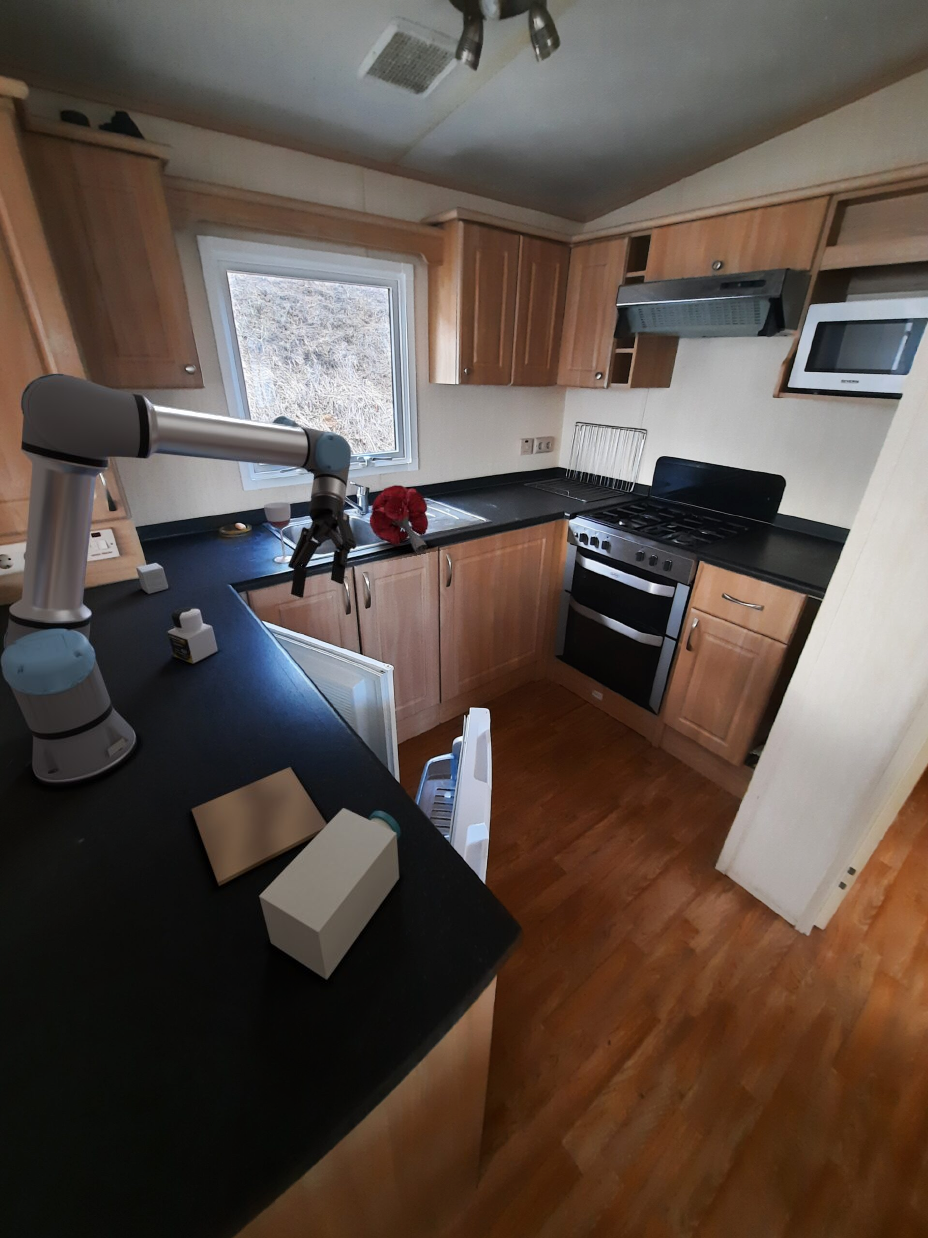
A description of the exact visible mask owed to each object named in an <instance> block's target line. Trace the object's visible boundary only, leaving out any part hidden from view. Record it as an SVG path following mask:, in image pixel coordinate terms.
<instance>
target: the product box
mask: <svg viewBox="0 0 928 1238" xmlns="http://www.w3.org/2000/svg"><path fill="white" fill-rule="evenodd" d="M135 569H136V572H137V577H138V580H139V583H140V586H141V589H142V590H143V591H144V592H145V593H147V594H148V595H150V594H153V593H157V592H160V591H161V592H162V591H164V590H168V589H169V584H168V581H167V577H166V573H165V571H164V567H163V566H161V565H160V564H158V562H154V563H150V564H144V565H140V566H136V567H135Z"/></svg>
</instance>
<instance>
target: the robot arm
mask: <svg viewBox="0 0 928 1238" xmlns="http://www.w3.org/2000/svg"><path fill="white" fill-rule="evenodd" d="M20 409H21V411H22V415H23V418H22V430H21V431H22V432H21V445H20V451H21V452H22V453H23V454H24V455H25V456H26V458H27V459H28V460H29V461H30V462H31V464H32V465H31V476H30V477H31V478H30V491H29V501H28V502H29V503H28V514H27V515H28V517H27V527H26V528H27V530H26V540H25V541H26V542H25V556H24V569H23V579H22V580H23V581H22V590H21V591H22V593H21V599H19V600H17V601H16V602H14V603H13V604H11V606H9V611H8V613H9V614H8V626H7V628H6V633H5V634H4V637H3V648H4V650H3V653H2V654H1V656H0V665H1V672H2V676H3V678H4V680H5V682H6V683H8V685H9V686H10V688H11V691H12V693H13V695H14V698H15V699H16V702H17V704H18V706H19V708H20V710H21V713H22V715H23V718H24V719H25V722H26V724H27V726H28V728H29V730H30V732H31V733H30V734H31V735H32V757H31V759H30V760H29V761H28V762H27V763H26V764H25V767H26V768H30V767H31V766H32V771H33V773H34V775H35V777H36V779H37V781H38V782H40V783H41V784H43V785H45V786H48V787H56V788H57V787H58V788H63V787H72V786H77V785H82V784H86V783H88V782H92V781H94V780H97V779H99V778H101V777H103V776H106V775H107V774H110V773H111V772H113V771H115V770H116V769H118V768H119V767H121V766H123V764H124V763H126V762H127V761H128V760H129V759H130V758H131V757H132V755H133V754H134V753H135V751H136V749H137V746H138V738H137V736H136V732H135V730H134V729H133V727H132V726H131V725H130V724H129V723H128V722H127V721H126V720H125V718H123V717H122V716H121V715H120V713H118V712H117V710H116V709H115V708H114V706H113V704H112V701H111V697H110V695H109V692H108V689H107V687H106V684H105V681H104V679H103V675H102V672H101V671H100V670H101V669H100V667H99V665H98V664H99V663H98V662H97V659H96V657H97V656H96V652H95V649H94V647H93V645H92V644H91V643H90V631H91V622H92V621H91V620H92V611H91V609H90V608H88V607H87V605H85V604H84V603H83V602H84V595H85V594H84V593H85V584H86V575H87V565H88V556H89V546H90V538H91V537H90V536H91V528H92V518H93V511H94V510H93V509H94V499H95V491H96V479H97V476H98V475H99V474H101V473H103V472H105V471H106V470H108V469H109V459H110V458H135V459H144V460H145V459H148V458H149V459H150V457H151V456H152V455H155V454H160V455H170V456H180V457H189V458H191V457H192V458H200V459H211V460H220V461H230V462H231V461H232V462H242V463H250V464H251V463H252V464H262V465H269V466H281V467H290V468H291V467H292V468H299V469H300V468H301V469H304V470H305V471H307V472H309V473H311V474H312V475H313V478H312V479H313V480H312V486H311V493H310V502H309V509H308V516H309V518H310V519H311V525H310V527H305V526H303V527H302V529H301V531H300V536H299V538H298V541H297V544H296V545H295V548H294V550H293V552H292V555H291V556H292V557H291V560H290V562H288V564H287V566H288V568H290V569H292V570H293V574H292V583H291V589H290V595H291V596H295V597H297V598H300V599H302V598H304V596H305V595H304V594H305V588H306V581H307V572H308V570H307V569H306V568H307V566H308V564H309V563H310V561H311V559H312V558H313V557H314V555H315V552H316V551H317V549H318V548H320V547H321V546H322V544H323V543H325V542H326V541H330V540H331V542H332V543H333V545H334V546H335V549H336V550H334V551H333V558H332V566H331V573H330V574H331V575H330V581H333V582H335V583H337V584H339V585H343V584H344V582H345V574H346V567H347V564H348V557H349V553H350V552H351V550H352V549H353V550H355V549H356V547H357V542H356V539H355V536H354V534H353V530H352V527H351V524H350V517H351V516H350V515H349V514H348V513H346V512H345V504H346V502H345V501H346V495H347V488H348V487H347V486H348V480H349V474H350V467H351V458H352V450H351V447H350V444H349V443H348V441H347V439H346V438H345V437H343V436H342V435H340V434H338V433H335V432H333V431H325V430H321V429H315V428H310V427H305V426H303V425H300V424H298V423H297V422H296V420H292V419H291V418H289V417H287V416H285V415H280V416H278V417H276V418H275V419H274V420H273V421H272V422H269V421H263V420H256V419H249V418H243V417H238V416H231V415H224V414H217V413H212V412H206V411H200V410H194V409H187V408H181V407H175V406H169V405H162V404H157V403H152V402H150V401H149V399H148V398H147V397H146V396H145V395H142V394H136V393H131V392H126V391H121V390H118V389H114V388H110V387H107V386H104V385H102V384H98V383H96V382H93V381H90V380H87V379H85V378H82V377H77V376H74V375H68V374H64V373H48V374H44V375H40V376H38V377H36V378H35V379H33V380H32V381H30V382H29V383H28V384H27V385H26V387H24V389H23V392H22V394H21V397H20Z"/></svg>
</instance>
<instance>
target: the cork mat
mask: <svg viewBox="0 0 928 1238" xmlns="http://www.w3.org/2000/svg"><path fill="white" fill-rule="evenodd" d="M191 813H192V815H193V819H194V821H195V824H196V827H197V830H198V833H199V835H200V838H201V840H202V843H203V846H204V849H205V852H206V855H207V858H208V861H209V863H210V866H211V868H212V871H213V874H214V877H215V880H216V883H217V885H218V887H220V886H222V885H224V884H226V883H227V882H230V881H232V880H234V879H235V878H237V877H239V876H241V875H243V874H246V873H247V872H249V871H251V870H253V869H255V868H256V867H260V866H261V865H263V864H264V863H266V862H268V861H270V860H272V859H274V858H276V857H278V856H279V855H282V854H284V853H285V852H288V851H290V850H291V849H293V848H296V847H297V846H299V845H301V844H303V843H305V842H307V841H309V840H311V839H312V838H313V839H314V838H315V837H316V836H317V835H318V834H319V833H320V832H321V831H322V830H323V829H324V828H325V826H326V825H327V824H328V823H327V822H326V821H325V819H324V818H323V816H322V814H321V812H320V811H319V810H318V809H317V807H316V805H315V804H314V802H313V800H312V799H311V797H310V796H309V794H308V793H307V791H306V790H305V788H304V786H303V785H302V783H301V782H300V780H299V778H298V777H297V776H296V774H295V772H294V771H293V769H292V767H291V766H289V767H287V768H284V769H281V770H279V771H277V772H275V773H272V774H270V775H268V776H266V777H263V778H261V779H259V780H255V781H254V782H251V783H248V784H247V785H244V786H242V787H240V788H238V789H235V790H233V791H231V792H228V793H226V794H223V795H221V796H218V797H216V798H214V799H212V800H209V801H207V802H204V803H202V804H199V805H197V806H196V807H193V808H191Z"/></svg>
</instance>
